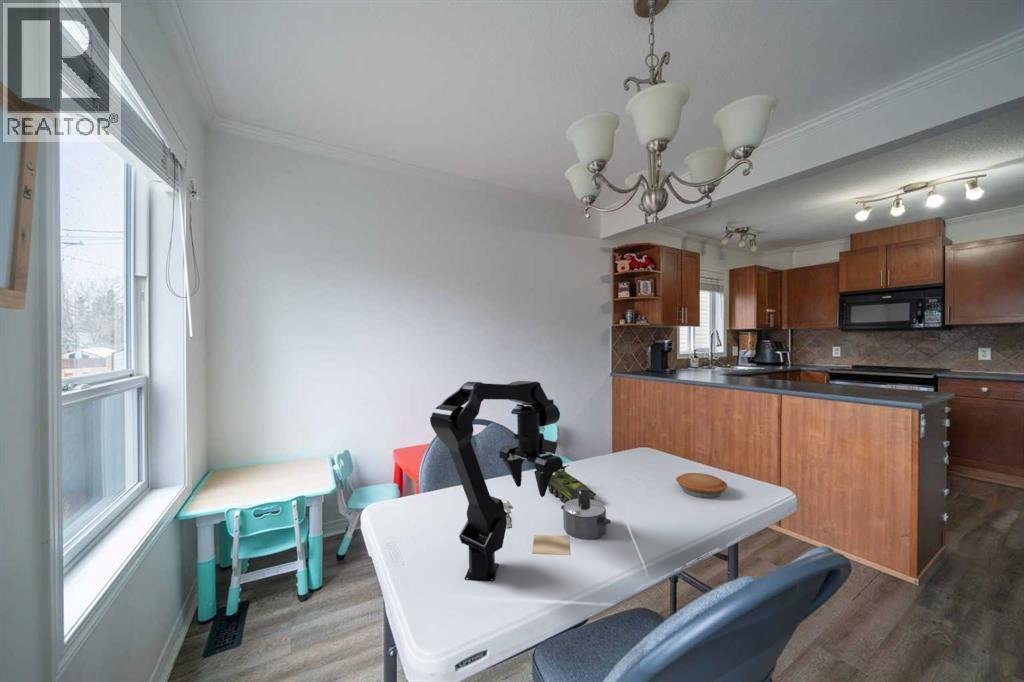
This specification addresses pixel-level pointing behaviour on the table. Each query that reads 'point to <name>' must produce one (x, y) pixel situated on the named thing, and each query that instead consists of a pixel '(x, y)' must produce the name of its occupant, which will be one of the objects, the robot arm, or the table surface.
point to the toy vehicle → (566, 486)
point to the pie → (701, 485)
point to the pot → (585, 526)
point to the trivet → (551, 545)
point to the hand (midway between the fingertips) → (530, 491)
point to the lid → (584, 505)
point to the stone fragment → (506, 507)
